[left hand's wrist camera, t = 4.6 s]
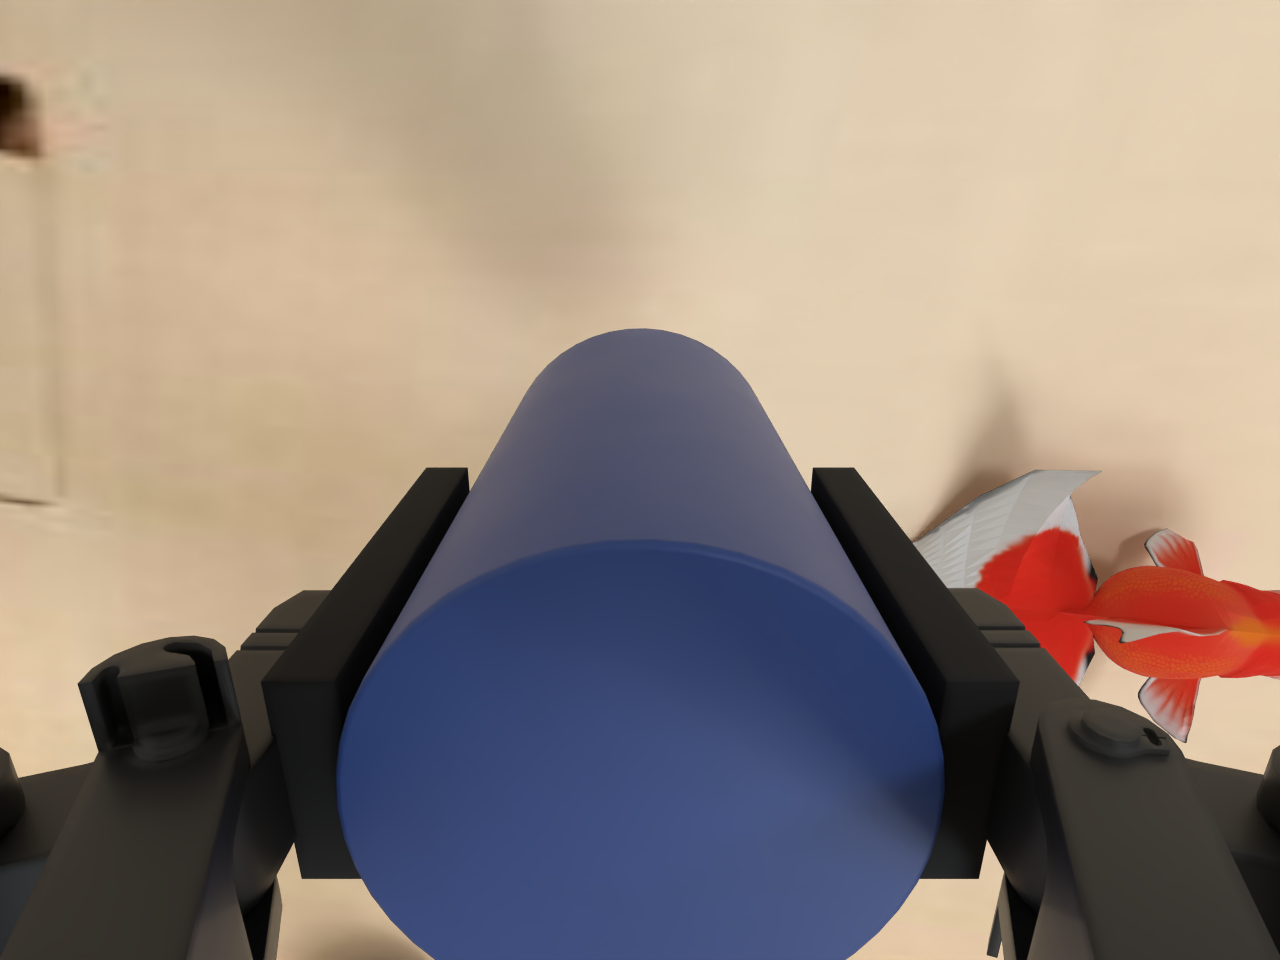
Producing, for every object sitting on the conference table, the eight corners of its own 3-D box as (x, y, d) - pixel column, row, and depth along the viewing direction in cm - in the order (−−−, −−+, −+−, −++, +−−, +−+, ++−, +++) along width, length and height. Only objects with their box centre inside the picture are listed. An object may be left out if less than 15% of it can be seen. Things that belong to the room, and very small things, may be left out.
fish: (1193, 821, 31) (1333, 927, 21) (825, 657, 36) (806, 684, 26) (1290, 575, 31) (1472, 572, 22) (909, 446, 36) (921, 398, 27)
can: (590, 609, 20) (534, 1087, 9) (461, 405, 18) (201, 714, 7) (810, 506, 19) (1028, 910, 8) (698, 277, 17) (796, 421, 6)
